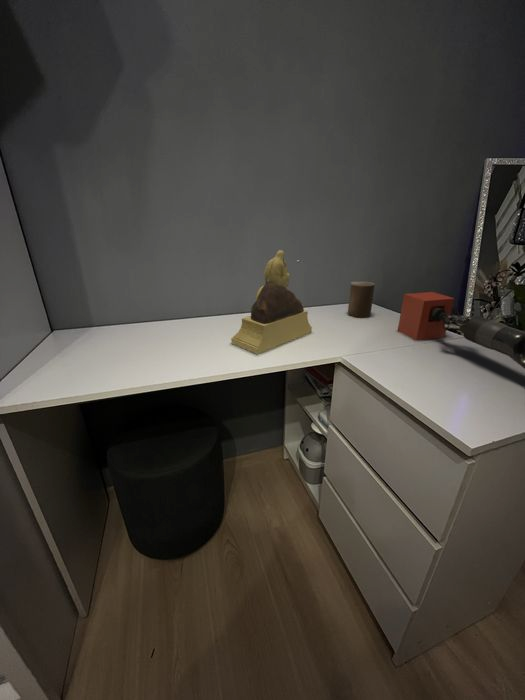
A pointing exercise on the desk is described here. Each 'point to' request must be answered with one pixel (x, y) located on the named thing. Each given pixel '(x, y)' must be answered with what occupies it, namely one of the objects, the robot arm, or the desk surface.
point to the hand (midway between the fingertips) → (440, 315)
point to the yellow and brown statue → (273, 313)
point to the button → (436, 314)
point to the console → (423, 315)
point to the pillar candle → (361, 299)
